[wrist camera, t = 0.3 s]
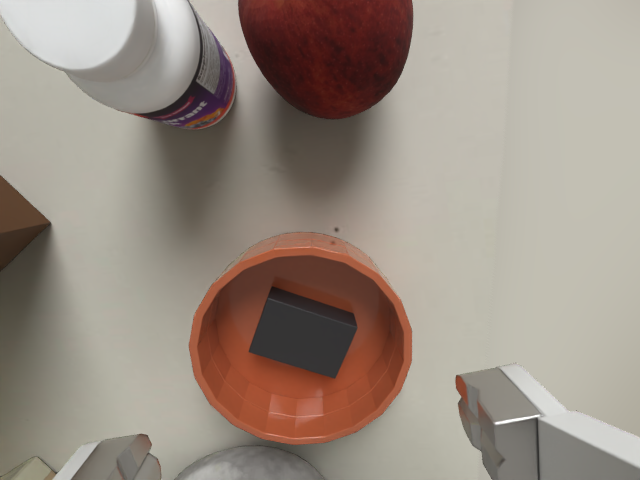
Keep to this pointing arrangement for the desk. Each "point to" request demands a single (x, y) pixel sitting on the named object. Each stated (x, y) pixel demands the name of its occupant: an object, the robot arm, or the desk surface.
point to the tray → (16, 223)
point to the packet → (303, 333)
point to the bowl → (286, 380)
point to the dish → (250, 466)
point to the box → (30, 471)
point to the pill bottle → (131, 55)
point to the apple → (329, 50)
